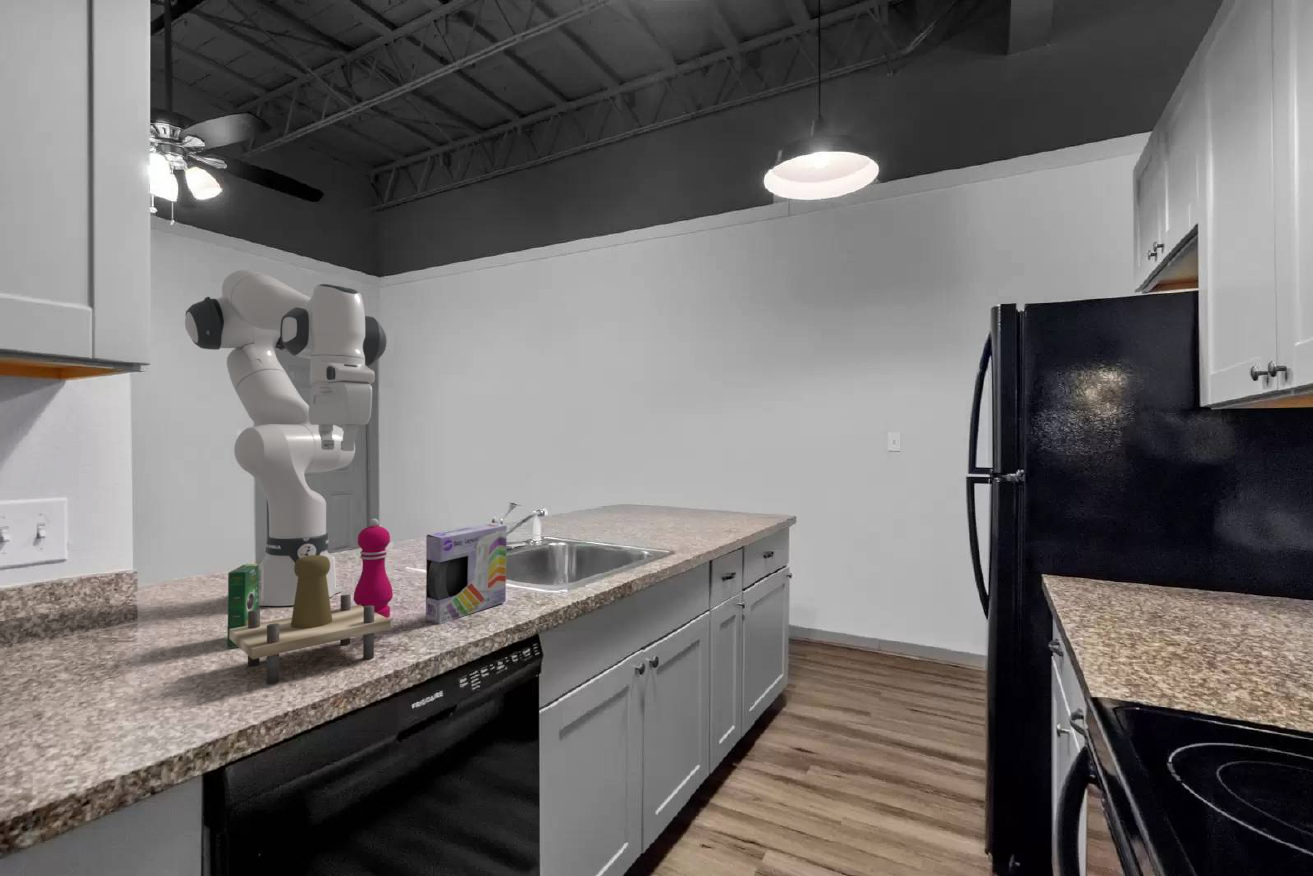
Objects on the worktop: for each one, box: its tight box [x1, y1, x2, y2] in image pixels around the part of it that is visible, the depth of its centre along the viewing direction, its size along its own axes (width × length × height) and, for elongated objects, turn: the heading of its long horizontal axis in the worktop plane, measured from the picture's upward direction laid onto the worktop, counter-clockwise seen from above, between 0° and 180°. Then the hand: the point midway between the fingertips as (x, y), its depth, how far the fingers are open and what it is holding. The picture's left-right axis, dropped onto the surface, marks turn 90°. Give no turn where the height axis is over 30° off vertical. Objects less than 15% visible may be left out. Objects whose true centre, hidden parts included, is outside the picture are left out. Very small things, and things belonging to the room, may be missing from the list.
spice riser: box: [229, 593, 392, 685], centre depth 101 cm, size 13×20×8 cm, turn 137°
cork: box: [291, 555, 332, 628], centre depth 102 cm, size 6×6×11 cm
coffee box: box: [226, 563, 260, 649], centre depth 111 cm, size 8×3×13 cm, turn 17°
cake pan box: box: [425, 522, 508, 625], centre depth 129 cm, size 19×5×18 cm, turn 148°
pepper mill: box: [353, 518, 394, 619], centre depth 125 cm, size 7×7×20 cm
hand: (337, 450), depth 112 cm, fingers open, 8 cm apart
